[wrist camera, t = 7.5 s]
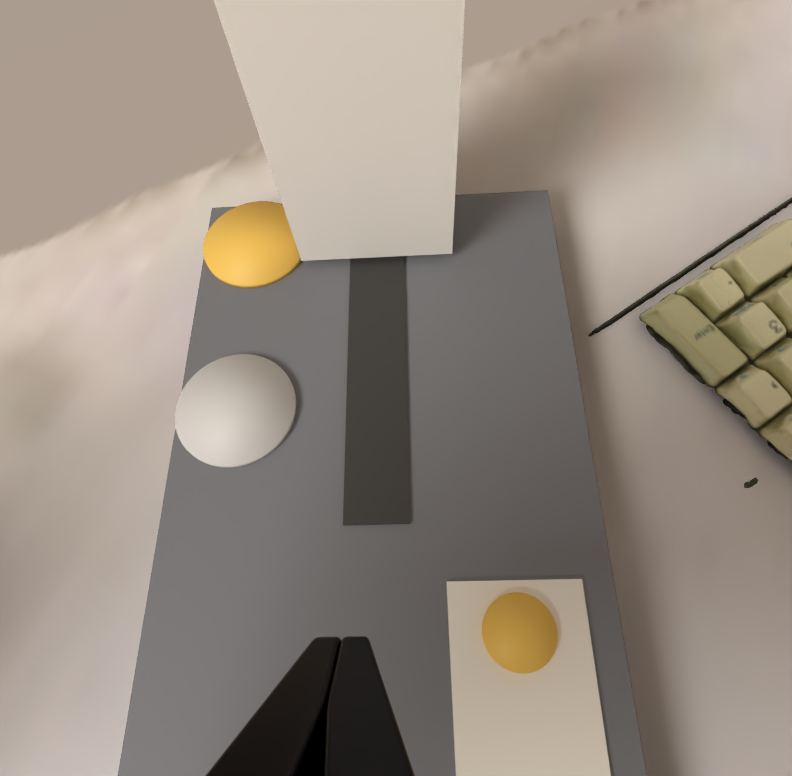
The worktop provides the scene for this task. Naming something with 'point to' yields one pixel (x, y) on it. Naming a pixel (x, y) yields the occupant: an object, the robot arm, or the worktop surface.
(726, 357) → the keyboard
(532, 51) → the worktop surface
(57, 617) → the worktop surface
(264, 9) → the lever
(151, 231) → the worktop surface
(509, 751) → the switch panel
